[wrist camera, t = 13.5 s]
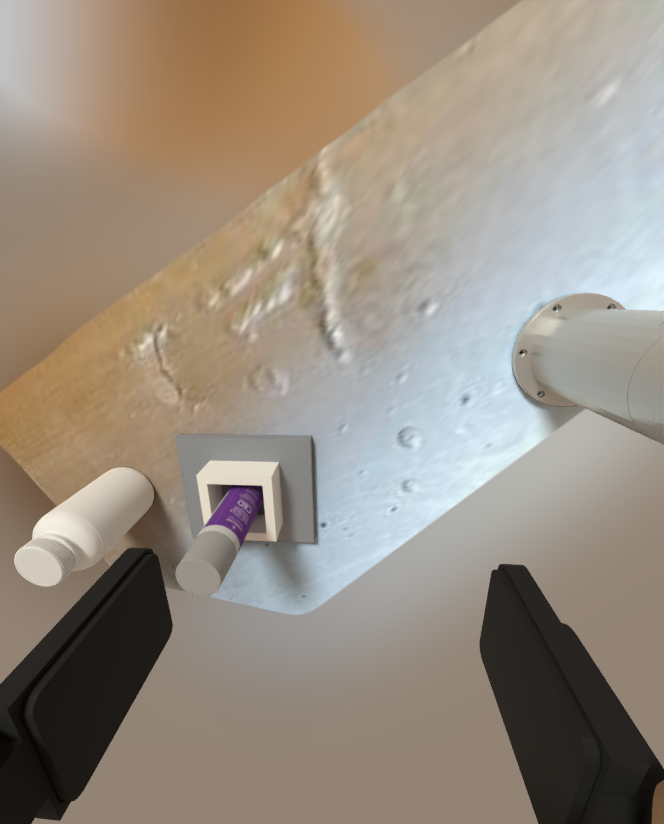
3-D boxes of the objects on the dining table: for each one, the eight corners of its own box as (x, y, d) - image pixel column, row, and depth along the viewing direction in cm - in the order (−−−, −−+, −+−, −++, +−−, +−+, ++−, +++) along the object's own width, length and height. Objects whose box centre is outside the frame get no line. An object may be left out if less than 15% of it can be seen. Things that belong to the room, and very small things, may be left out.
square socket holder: (311, 436, 44) (305, 453, 39) (314, 537, 49) (310, 563, 44) (179, 433, 45) (158, 449, 40) (196, 532, 50) (178, 557, 46)
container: (268, 483, 45) (226, 567, 31) (260, 511, 47) (217, 603, 32) (235, 472, 45) (177, 551, 31) (228, 500, 47) (170, 588, 32)
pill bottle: (138, 522, 51) (53, 608, 36) (93, 489, 49) (-13, 565, 35) (167, 490, 48) (87, 568, 34) (121, 454, 47) (18, 521, 33)
